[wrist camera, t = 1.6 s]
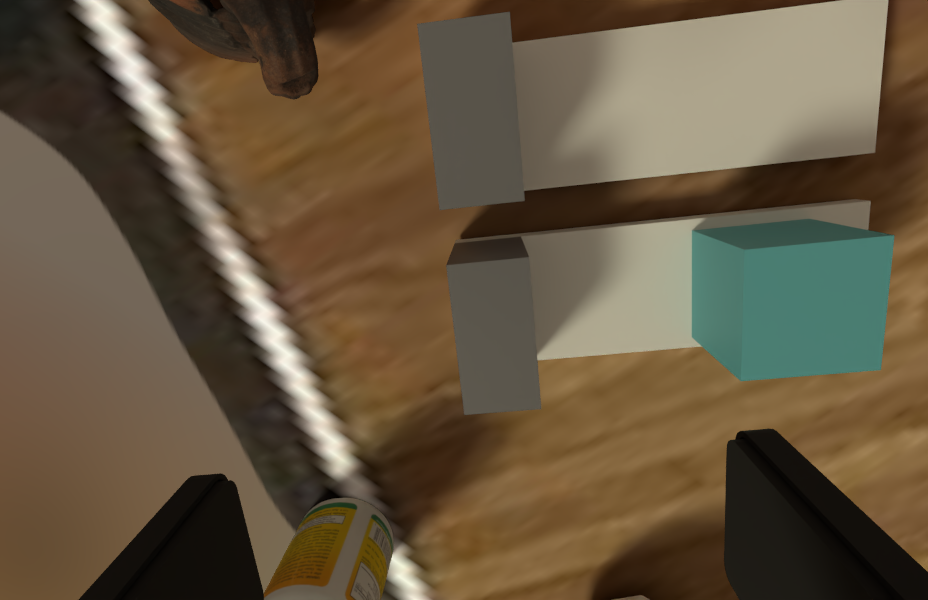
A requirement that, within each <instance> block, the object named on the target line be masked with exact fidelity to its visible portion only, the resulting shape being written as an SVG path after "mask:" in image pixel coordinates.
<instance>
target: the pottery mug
mask: <svg viewBox="0 0 928 600" xmlns="http://www.w3.org/2000/svg"><path fill="white" fill-rule="evenodd" d="M149 2H150V3H151V4H152V5H153V6H154V7H155V8H156V9H157V10H158V11H159V12H161V13H162V14H163V15H164V16H165V17H166V18H167V19H168V20H169V21H170V22H171V23H172V24H173V26H174V27H175V28H176V29H177V30H178V31H179V32H180V33H181V34H182V35H184V36H185V37H186V38H187V39H188V40H189V41H191V42H192V43H194V44H195V45H197V46H199V47H200V48H202V49H204V50H206V51H207V52H209V53H211V54H214V55H216V56H219V57H221V58H225V59H231V60H236V61H241V62H252V63H256V62H258V60H259V63H260V66H261V70H262V75H263V79H264V82H265V84H266V86H267V89H268V90H269V91H270V93H271V94H273V95H275V96H283V97H286V98H290V99H297V98H299V97H300V96H302V95H307V94H309V93H310V92H311V90H312V88H313V86H314V85H315V84H316V82H317V80H318V61H317V55H316V50H315V45H314V42H313V38H314V34H315V30H316V29H315V26H314V23H313V22H314V21H313V18H312V13H314V11H315V4H314V0H220V2H221V4H222V5H223V8H220V9H219V10H216V9H215V8H214V7H213V5H212V4H211V2H210V1H209V0H149Z"/></svg>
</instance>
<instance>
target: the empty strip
mask: <svg viewBox="0 0 928 600" xmlns="http://www.w3.org/2000/svg"><path fill="white" fill-rule="evenodd" d="M887 10H888V0H840V1H833V2H825V3H817V4H809V5H802V6H794V7H786V8H778V9H770V10H763V11H755V12H747V13H739V14H732V15H724V16H716V17H708V18H700V19H693V20H685V21H677V22H669V23H662V24H654V25H646V26H638V27H630V28H623V29H615V30H607V31H599V32H591V33H584V34H576V35H568V36H560V37H553V38H545V39H537V40H529V41H521V42H514V43H512V33H511V20H510V12H504V13H497V14H489V15H481V16H474V17H466V18H459V19H451V20H444V21H436V22H429V23H421V24H417V26H418V34H419V42H420V51H421V59H422V67H423V76H424V84H425V92H426V100H427V109H428V117H429V125H430V134H431V142H432V150H433V159H434V167H435V175H436V184H437V192H438V200H439V208H440V210H444V209H453V208H463V207H472V206H481V205H491V204H500V203H510V202H519V201H525V198H524V191H527V190H536V189H545V188H554V187H564V186H573V185H582V184H591V183H601V182H610V181H619V180H628V179H638V178H647V177H656V176H665V175H675V174H684V173H693V172H702V171H712V170H721V169H730V168H739V167H749V166H758V165H767V164H776V163H786V162H795V161H804V160H813V159H823V158H832V157H841V156H850V155H860V154H869V153H875V147H876V136H877V125H878V113H879V102H880V90H881V79H882V67H883V56H884V44H885V33H886V22H887Z"/></svg>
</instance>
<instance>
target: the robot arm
mask: <svg viewBox="0 0 928 600" xmlns="http://www.w3.org/2000/svg"><path fill="white" fill-rule="evenodd" d="M724 564H725V570H726V574H727V577H728V580H729V582H730V584H731V586H732V588H733V589H734V591H735V593H736V595H737V596H738V598H739V600H928V572H927V571H926V570H925V569H924V568H923V567H922V566H921V565H920V564H919V563H917V562H916V561H915V560H914V559H913V558H912V557H911V556H910V555H909V554H908V553H907V552H906V551H905V550H903V549H902V548H901V547H900V546H899V545H898V544H897V543H896V542H895V541H894V540H893V539H892V538H891V537H890V536H888V535H887V534H886V533H885V532H884V531H883V530H882V529H881V528H880V527H879V526H878V525H877V524H876V523H875V522H873V521H872V520H871V519H870V518H869V517H868V516H867V515H866V514H865V513H864V512H863V511H862V510H861V509H860V508H858V507H857V506H856V505H855V504H854V503H853V502H852V501H851V500H850V499H849V498H848V497H847V496H846V495H844V494H843V493H842V492H841V491H840V490H839V489H838V488H837V487H836V486H835V485H834V484H833V483H832V482H831V481H829V480H828V479H827V478H826V477H825V476H824V475H823V474H822V473H821V472H820V471H819V470H818V469H817V468H816V467H814V466H813V465H812V464H811V463H810V462H809V461H808V460H807V459H806V458H805V457H804V456H803V455H802V454H800V453H799V452H798V451H797V450H796V449H795V448H794V447H793V446H792V445H791V444H790V443H789V442H788V441H787V440H785V439H784V438H783V437H782V436H781V435H780V434H779V433H778V432H777V431H775V430H774V429H761V430H749V431H740V432H738V433H737V435H736V439H735V440H730V441H728V444H727V458H726V504H725V549H724ZM79 600H264V594H263V589H262V585H261V581H260V577H259V573H258V569H257V565H256V561H255V558H254V553H253V549H252V546H251V542H250V538H249V534H248V530H247V526H246V523H245V518H244V514H243V510H242V507H241V502H240V499H239V494H238V490H237V487H236V485H235V483H234V482H233V481H231V480H230V481H228V479H227V478H226V476H225V475H223V474H211V475H198V476H191V477H190V478H188V479H187V480H186V481H185V482H184V483H183V485H182V486H181V487H180V488H179V489H178V490H177V491H176V493H174V495H173V496H172V497H171V498H170V499H169V500H168V501H167V502H166V503H165V505H164V506H163V507H162V508H161V509H160V510H159V511H158V512H157V513H156V515H155V516H154V517H153V518H152V519H151V520H150V521H149V522H148V523H147V524H146V526H145V527H144V528H143V529H142V530H141V531H140V532H139V533H138V534H137V536H136V537H135V538H134V539H133V540H132V541H131V542H130V543H129V545H128V546H127V547H126V548H125V549H124V550H123V551H122V552H121V553H120V555H119V556H118V557H117V558H116V559H115V560H114V561H113V562H112V563H111V564H110V565H109V567H108V568H107V569H106V570H105V571H104V572H103V573H102V574H101V576H100V577H99V578H98V579H97V580H96V581H95V582H94V583H93V584H92V585H91V587H90V588H89V589H88V590H87V591H86V592H85V593H84V594H83V595H82V596H81V598H80V599H79Z"/></svg>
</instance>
